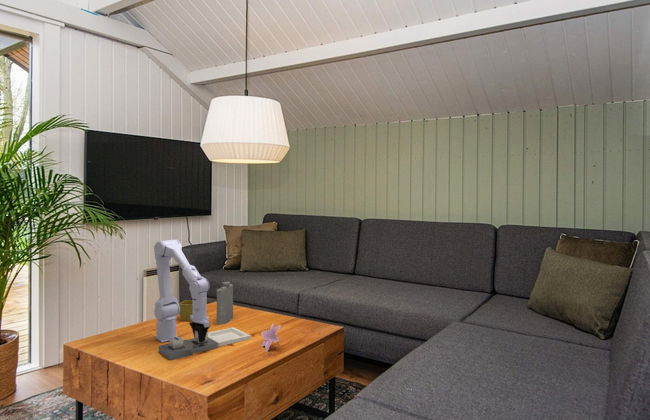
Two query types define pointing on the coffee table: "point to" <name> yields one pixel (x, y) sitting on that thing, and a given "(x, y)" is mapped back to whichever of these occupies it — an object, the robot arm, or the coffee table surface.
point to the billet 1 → (176, 343)
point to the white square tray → (228, 336)
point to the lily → (270, 336)
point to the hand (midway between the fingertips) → (199, 340)
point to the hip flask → (225, 303)
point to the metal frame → (186, 349)
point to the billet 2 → (196, 340)
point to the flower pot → (186, 310)
